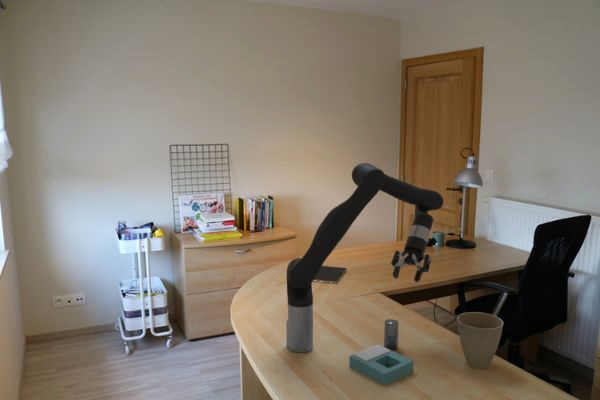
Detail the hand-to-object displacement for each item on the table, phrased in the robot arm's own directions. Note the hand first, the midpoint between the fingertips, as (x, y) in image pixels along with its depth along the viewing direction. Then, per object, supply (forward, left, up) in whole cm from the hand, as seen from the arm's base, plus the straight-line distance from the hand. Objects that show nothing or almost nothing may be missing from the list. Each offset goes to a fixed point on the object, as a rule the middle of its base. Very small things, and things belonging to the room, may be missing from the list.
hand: (405, 279), depth 186 cm
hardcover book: (-81, +33, -26) cm, 91 cm away
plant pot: (+25, +9, -26) cm, 37 cm away
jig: (+7, -20, -26) cm, 33 cm away
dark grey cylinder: (-2, -5, -26) cm, 26 cm away
